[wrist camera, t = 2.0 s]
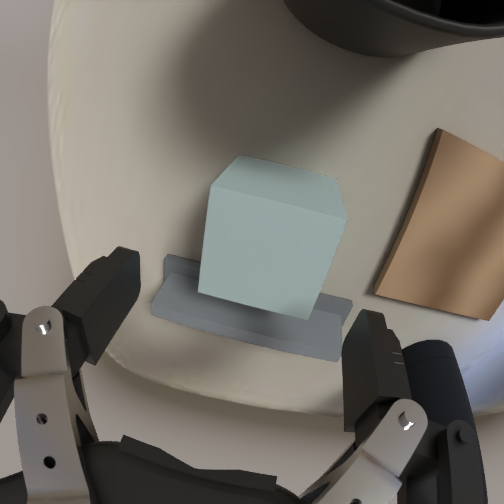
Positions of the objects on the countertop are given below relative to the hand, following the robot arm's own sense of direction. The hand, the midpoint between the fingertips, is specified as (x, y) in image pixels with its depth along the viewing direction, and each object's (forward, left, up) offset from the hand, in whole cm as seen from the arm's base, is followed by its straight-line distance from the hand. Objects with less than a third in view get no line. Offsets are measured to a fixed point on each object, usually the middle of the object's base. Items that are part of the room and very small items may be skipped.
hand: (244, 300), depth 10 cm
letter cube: (0, 0, -9) cm, 9 cm away
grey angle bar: (0, +7, -8) cm, 11 cm away
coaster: (-13, -2, -8) cm, 16 cm away
